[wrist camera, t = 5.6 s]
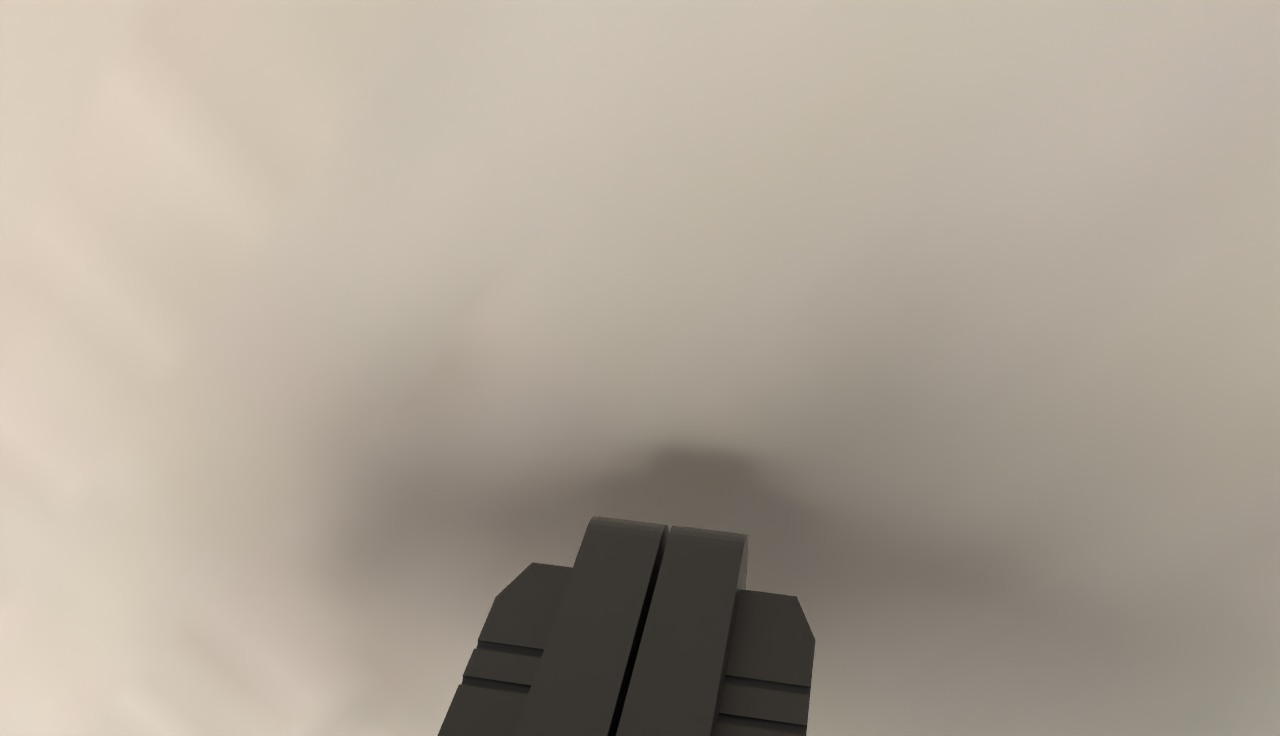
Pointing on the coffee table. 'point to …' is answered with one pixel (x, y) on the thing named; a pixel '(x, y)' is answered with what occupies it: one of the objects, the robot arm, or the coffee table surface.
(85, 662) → the coffee table surface
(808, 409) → the coffee table surface
